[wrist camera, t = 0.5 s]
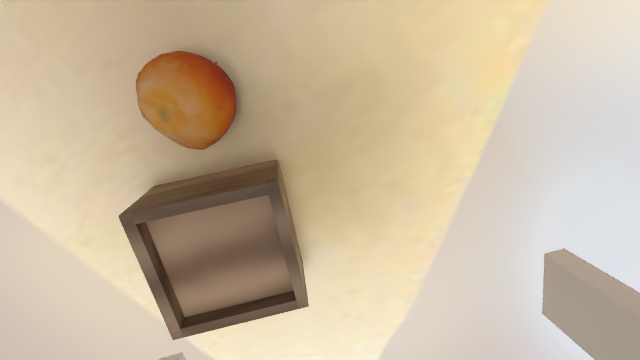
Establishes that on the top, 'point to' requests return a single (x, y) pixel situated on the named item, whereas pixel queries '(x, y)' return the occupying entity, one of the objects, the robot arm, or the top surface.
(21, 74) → the top surface
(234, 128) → the top surface
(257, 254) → the open wooden box
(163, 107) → the fruit
